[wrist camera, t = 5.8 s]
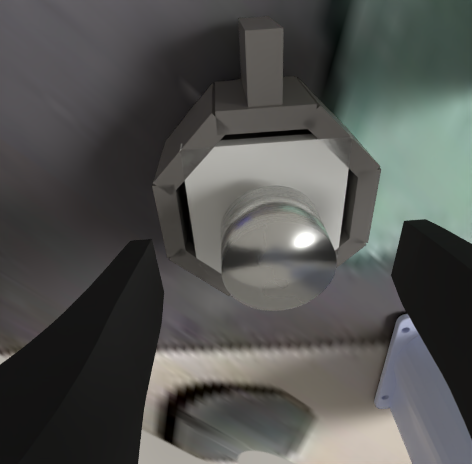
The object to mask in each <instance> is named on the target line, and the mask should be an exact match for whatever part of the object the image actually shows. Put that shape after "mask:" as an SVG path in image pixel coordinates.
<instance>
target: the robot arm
mask: <svg viewBox="0 0 472 464" xmlns="http://www.w3.org/2000/svg"><path fill="white" fill-rule="evenodd" d="M391 276H392V279H393V282H394V284H395V287H396V290H397V292H398V295H399V297H400V300H401V302H402V304H403V307H404V308H405V310H406V312H407V314H404V315H401V316H400V317H399V318H398V319H397V321H396V324H395V328H394V331H393V335H392V339H391V342H390V346H389V349H388V353H387V357H386V360H385V364H384V368H383V371H382V375H381V378H380V382H379V386H378V389H377V393H376V397H375V400H374V403H375V406H376V407H377V408H379V409H386V408H390V410H391V412H392V414H393V417H394V419H395V422H396V424H397V427H398V429H399V432H400V434H401V437H402V439H403V442H404V444H405V447H406V449H407V452H408V454H409V457H410V459H411V462H412V464H472V244H471V243H469V242H467V241H466V240H464V239H462V238H460V237H458V236H457V235H455V234H453V233H451V232H449V231H448V230H446V229H444V228H442V227H440V226H438V225H436V224H434V223H432V222H430V221H428V220H426V219H424V220H410V221H404V223H403V228H402V232H401V236H400V240H399V245H398V249H397V253H396V257H395V262H394V266H393V270H392V274H391ZM163 299H164V290H163V286H162V281H161V277H160V273H159V268H158V264H157V260H156V255H155V251H154V247H153V242H152V239H148V240H134V241H130V242H129V243H128V244H127V245H126V246H125V247H124V249H123V250H122V251H121V252H120V253H119V254H118V255H117V257H116V258H115V259H114V260H113V261H112V262H111V263H110V265H109V266H108V267H107V268H106V269H105V270H104V271H103V273H102V274H101V275H100V276H99V277H98V278H97V279H96V280H95V281H94V282H93V284H92V285H91V286H90V287H89V288H88V289H87V290H86V291H85V292H84V293H83V294H82V295H81V296H80V297H79V298H78V299H77V300H76V301H75V302H74V303H73V304H72V305H71V306H70V307H69V308H68V309H67V310H66V311H65V312H64V313H63V314H62V315H61V316H60V317H59V318H58V319H56V320H55V321H54V322H53V323H52V324H51V325H50V326H49V327H47V328H46V329H45V330H44V331H43V332H42V333H40V334H39V335H38V336H37V337H36V338H34V339H33V340H32V341H31V342H30V343H28V344H27V345H26V346H25V347H23V348H22V349H21V350H19V351H18V352H17V353H15V354H14V355H13V356H11V357H10V358H9V359H7V360H6V361H5V362H3V363H2V364H1V365H0V464H138V459H139V448H140V439H141V430H142V421H143V412H144V406H145V400H146V395H147V390H148V385H149V381H150V376H151V371H152V366H153V362H154V357H155V352H156V348H157V343H158V338H159V333H160V328H161V323H162V312H163Z"/></svg>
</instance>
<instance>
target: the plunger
mask: <svg viewBox="0 0 472 464" xmlns="http://www.w3.org/2000/svg"><path fill="white" fill-rule="evenodd" d="M336 265H337V259H336V253H335V250H334V247H333V245H332V243H331V241H330V238H329V236H328V234H327V231H326V229H325V227H324V225H323V222H322V220H321V218H320V215H319V213H318V211H317V209H316V207H315V205H314V204H313V202H312V201H311V200H310V199H309V198H308V197H307V196H306V195H304V194H303V193H301V192H299V191H298V190H295V189H293V188H290V187H285V186H278V185H273V186H263V187H259V188H255V189H253V190H250V191H248V192H246V193H244V194H243V195H241V196H240V197H238V198H237V199H236V200H235V201H234V202H233V203H232V204H231V205H230V206H229V207H228V209H227V210H226V212H225V214H224V216H223V219H222V222H221V270H222V279H223V282H224V285H225V287H226V289H227V290H228V292H229V293H230V294H231V295H232V296H233V297H234V298H235V299H236V300H238V301H239V302H241V303H243V304H244V305H246V306H249V307H252V308H255V309H259V310H266V311H280V310H287V309H292V308H295V307H298V306H301V305H303V304H306V303H307V302H309V301H311V300H313V299H314V298H316V297H317V296H318V295H320V294H321V293H322V292H323V291H324V290H325V289H326V288H327V286H328V285H329V284H330V282H331V280H332V279H333V276H334V274H335V271H336Z"/></svg>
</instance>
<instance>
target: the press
mask: <svg viewBox="0 0 472 464" xmlns="http://www.w3.org/2000/svg"><path fill="white" fill-rule="evenodd" d="M238 26H239V47H240V68H241V78H240V79H237V80H232V81H218V82H215V85H214V84H213V83H212V84H211V85H210V87H209V88H208V89H207V90H206V92H205V93H204V94H203V95H202V97H201V98H200V99H199V100H198V101H197V102H196V103H195V104H194V106H193V107H192V108H191V109H190V110H189V111H188V113H187V114H186V116H185V117H184V119H183V120H182V121H181V123H180V124H179V125H178V126H177V128H176V129H175V130H174V131H173V132H172V134H171V135H170V136H169V137H168V139H167V140H166V141H165V144H164V148H163V151H162V154H161V158H160V161H159V164H158V168H157V171H156V175H155V178H154V181H153V185H152V188H153V193H154V197H155V202H156V207H157V212H158V217H159V221H160V226H161V231H162V236H163V240H164V245H165V250H166V255H167V258H168V257H169V260H170V261H172V262H173V263H175V264H177V265H178V266H180V267H182V268H183V269H185V270H187V271H188V272H190V273H192V274H193V275H195V276H196V277H198V278H200V279H201V280H203V281H205V282H206V283H208V284H210V285H211V286H213V287H215V288H216V289H218V290H220V291H221V292H223V293H225V294H226V295H228V296H230V295H231V294H230V293H229V292H228V290H227V289H226V287H225V285H224V282H223V279H222V270H221V222H222V219H223V216H224V214H225V212H226V210H227V209H228V207H229V206H230V205H231V204H232V203H233V202H234V201H235V200H236V199H237V198H238V197H240V196H241V195H243V194H244V193H246V192H248V191H250V190H253V189H255V188H259V187H263V186H273V185H278V186H285V187H290V188H293V189H295V190H298V191H299V192H301V193H303V194H304V195H306V196H307V197H308V198H309V199H310V200H311V201H312V202H313V204H314V205H315V207H316V209H317V211H318V213H319V215H320V218H321V220H322V222H323V225H324V227H325V229H326V231H327V234H328V236H329V238H330V241H331V243H332V245H333V247H334V250H335V253H336V259H337V265H336V268H337V267H338V266H340V265H341V264H342V263H343V262H345V261H346V260H347V259H349V258H350V257H351V256H353V255H354V254H355V253H356V252H358V251H359V250H360V249H362V248H363V247H364V246H366V243H368V239H369V234H370V228H371V223H372V217H373V212H374V206H375V201H376V195H377V189H378V184H379V178H380V173H381V169H380V166H379V164H378V163H377V162H376V161H375V160H374V159H373V157H372V156H371V155H370V154H369V153H368V152H367V151H366V149H365V148H364V147H363V146H362V145H361V144H360V142H359V141H358V140H357V139H356V138H355V137H354V136H353V134H352V133H351V132H350V131H349V130H348V129H347V127H346V126H345V125H344V124H343V123H342V122H341V121H340V120H339V119H338V118H337V117H336V116H335V115H334V114H333V113H332V112H331V111H330V110H329V109H328V108H327V107H326V106H325V105H324V104H323V103H322V102H321V101H320V100H319V99H318V98H317V97H316V96H315V95H314V94H313V93H312V92H311V91H310V90H309V88H308V87H307V86H306V85H305V84H304V83H303V82H302V81H301V80H300V79H299V78H298V77H297V78H296V77H295V76H287V77H283V27H282V26H280V25H279V24H278V23H276V22H275V21H274V20H272V19H271V18H270V17H269V16H263V17H249V18H238ZM232 297H233V296H232Z"/></svg>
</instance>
